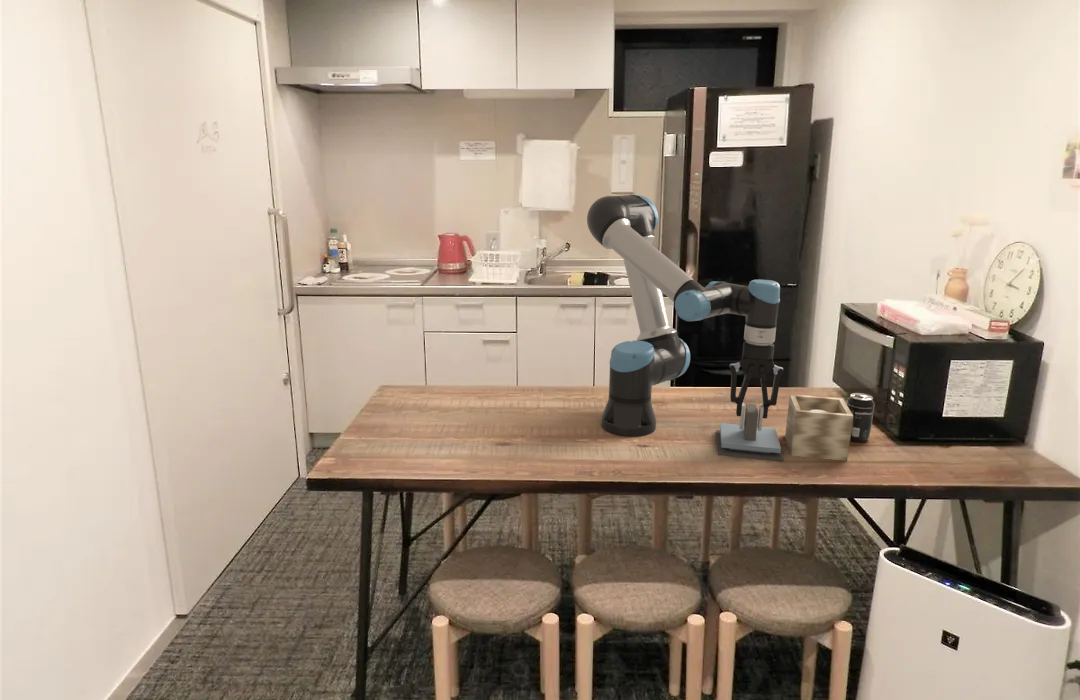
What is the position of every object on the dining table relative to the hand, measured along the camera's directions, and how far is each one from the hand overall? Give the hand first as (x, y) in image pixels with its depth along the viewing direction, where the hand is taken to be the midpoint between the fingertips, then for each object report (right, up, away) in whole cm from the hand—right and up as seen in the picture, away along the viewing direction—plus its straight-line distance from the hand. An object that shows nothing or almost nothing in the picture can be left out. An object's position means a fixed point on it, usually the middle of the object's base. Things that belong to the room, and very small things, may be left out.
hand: (750, 428), depth 186 cm
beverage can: (+31, -4, +8) cm, 32 cm away
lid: (0, -4, +1) cm, 4 cm away
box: (+17, -5, +1) cm, 18 cm away
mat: (0, -5, +1) cm, 5 cm away
